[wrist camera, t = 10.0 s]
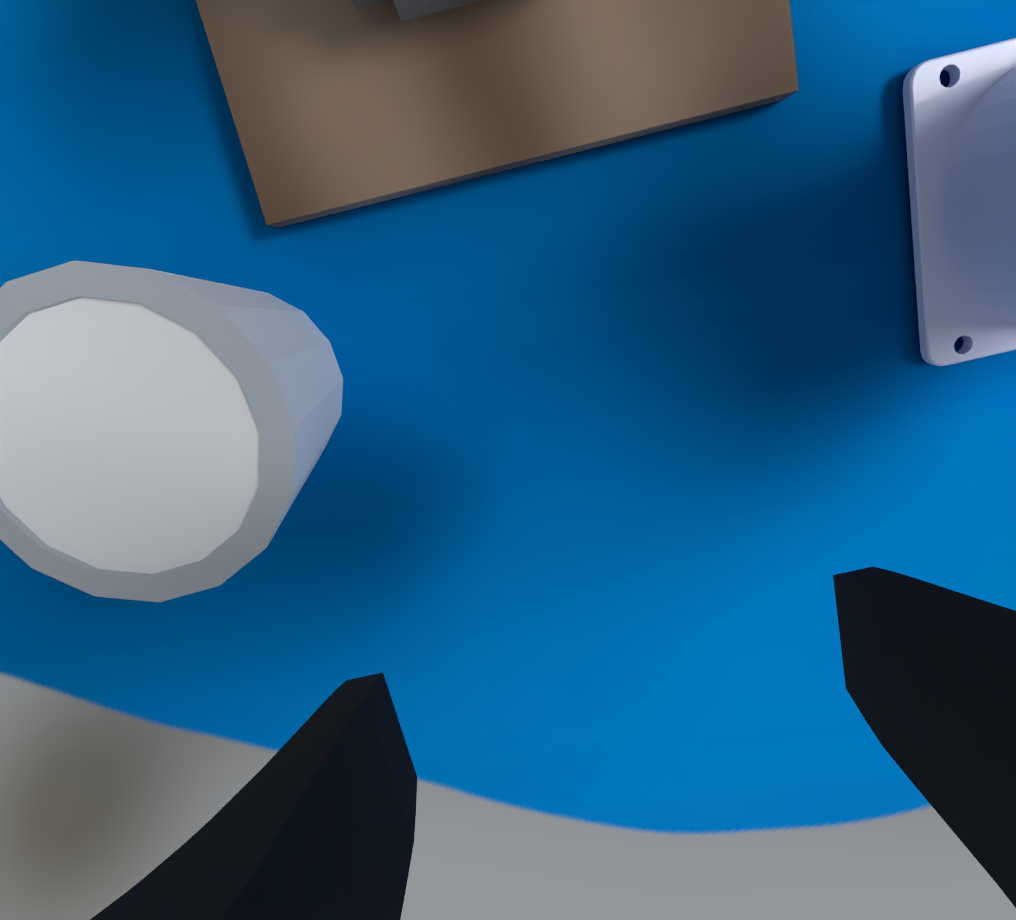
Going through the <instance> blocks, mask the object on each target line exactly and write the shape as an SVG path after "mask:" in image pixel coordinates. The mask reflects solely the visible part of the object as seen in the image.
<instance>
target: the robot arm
mask: <svg viewBox="0 0 1016 920" xmlns="http://www.w3.org/2000/svg"><path fill="white" fill-rule="evenodd" d="M943 69H945V70H946V71H947V72H949V75H950V82H949V85H948V86H947V87H944V86H943V85H942V84H941V83H940V79H939V77H940V72H941V71H942V70H943ZM903 101H904V116H905V131H906V146H907V160H908V175H909V190H910V205H911V219H912V234H913V249H914V264H915V278H916V293H917V308H918V323H919V338H920V352H921V355H922V358H923V359H924V360H925V361H926V362H927V363H929V364H932V365H936V366H947V365H951V364H955V363H960V362H964V361H969V360H973V359H977V358H982V357H986V356H990V355H995V354H999V353H1003V352H1008V351H1012V350H1016V38H1013V39H1010V40H1006V41H1002V42H998V43H994V44H990V45H986V46H982V47H978V48H974V49H970V50H966V51H962V52H958V53H954V54H950V55H946V56H942V57H938V58H935V59H931V60H927V61H925V62H923V63H921V64H919V65H917V66H915V67H913V68H912V69H911V70H910V71H909V72H908V73H907V75H906V77H905V79H904V82H903ZM959 337H962V338H963V346H962V347H961V349H960V350H959V351H957V352H956V351H955V349H954V344H955V341H956V340H957V339H958V338H959ZM833 578H834V587H835V596H836V605H837V614H838V622H839V631H840V640H841V649H842V658H843V667H844V675H845V684H846V689H847V691H848V692H849V694H850V696H851V697H852V699H853V701H854V702H855V704H856V705H857V707H858V709H859V710H860V712H861V713H862V715H863V717H864V718H865V720H866V721H867V723H868V724H869V726H870V728H871V729H872V731H873V732H874V734H875V735H876V737H877V738H878V740H879V741H880V743H881V744H882V746H883V747H884V748H885V749H886V751H887V752H888V753H889V754H890V756H891V757H892V758H893V759H894V761H895V762H896V763H897V764H898V766H899V767H900V768H901V769H902V770H903V772H904V773H905V774H906V775H907V776H908V778H909V779H910V780H911V781H912V783H913V784H914V785H915V786H916V787H917V789H918V790H919V791H920V792H921V793H922V795H923V796H924V797H925V798H926V799H927V801H928V802H929V803H930V804H931V805H932V807H933V808H934V809H935V810H936V811H937V813H938V814H939V815H940V816H941V817H942V819H943V820H944V821H945V822H946V823H947V824H948V826H949V827H950V828H951V829H952V830H953V832H954V833H955V834H956V835H957V836H958V838H959V839H960V840H961V841H962V842H963V844H964V845H965V846H966V847H967V848H968V850H969V851H970V852H971V853H972V854H973V856H974V857H975V858H976V859H977V860H978V862H979V863H980V864H981V865H982V866H983V867H984V869H985V870H986V871H987V872H988V873H989V875H990V876H991V877H992V878H993V880H994V881H995V882H996V883H997V884H998V886H999V887H1000V888H1001V889H1002V891H1003V892H1004V893H1005V895H1006V896H1007V897H1008V898H1009V900H1010V901H1011V902H1012V904H1013V905H1014V906H1015V907H1016V611H1014V610H1011V609H1008V608H1005V607H1002V606H998V605H995V604H992V603H989V602H986V601H983V600H980V599H977V598H974V597H971V596H968V595H965V594H961V593H958V592H955V591H952V590H949V589H946V588H943V587H940V586H937V585H934V584H931V583H928V582H925V581H922V580H919V579H916V578H912V577H909V576H906V575H903V574H899V573H896V572H892V571H889V570H885V569H881V568H876V567H869V568H865V569H860V570H856V571H851V572H846V573H842V574H837V575H833ZM416 792H417V775H416V772H415V769H414V766H413V763H412V760H411V757H410V754H409V751H408V748H407V745H406V742H405V739H404V736H403V733H402V730H401V727H400V723H399V720H398V717H397V714H396V711H395V708H394V705H393V702H392V699H391V696H390V693H389V690H388V687H387V684H386V681H385V678H384V675H383V673H379V674H374V675H369V676H365V677H360V678H356V679H351V680H346V681H345V682H344V683H343V684H342V685H341V686H340V687H339V688H338V689H337V690H336V691H335V692H334V693H333V694H332V695H331V696H330V697H329V698H328V699H327V700H326V701H325V702H324V703H323V704H322V705H321V706H320V707H319V708H318V709H317V711H316V712H315V713H314V714H313V715H312V716H311V717H310V718H309V719H308V720H307V721H306V722H305V724H304V725H303V726H302V727H301V728H300V729H299V730H298V731H297V732H296V733H295V734H294V735H293V736H292V737H291V739H290V740H289V741H288V742H287V743H286V744H285V745H284V746H283V747H282V748H281V749H280V750H279V751H278V752H277V754H276V755H275V756H274V757H273V758H272V759H271V760H270V761H269V762H268V763H267V764H266V765H265V766H264V767H263V768H262V769H261V770H260V771H259V772H258V773H257V774H256V775H255V776H254V777H253V778H252V779H251V780H250V781H249V782H248V783H247V784H246V785H245V786H244V787H243V788H242V789H241V790H240V791H239V792H238V793H237V794H236V795H235V796H234V797H233V798H232V799H231V800H230V801H229V802H228V803H227V804H226V805H225V806H224V807H223V808H222V809H221V810H220V811H219V812H218V813H217V814H216V815H215V816H214V817H213V818H212V819H211V820H210V821H209V822H208V823H206V824H205V825H204V826H203V827H202V828H201V829H200V830H199V831H198V832H197V833H196V834H195V835H193V836H192V837H191V838H190V839H189V840H188V841H187V842H186V843H185V844H183V845H182V846H181V847H180V848H179V849H178V850H177V851H175V852H174V853H173V854H172V855H171V856H170V857H168V858H167V859H166V860H165V861H164V862H162V863H161V864H160V865H159V866H158V867H157V868H155V869H154V870H153V871H152V872H151V873H149V874H148V875H147V876H146V877H145V878H144V879H142V880H141V881H140V882H139V883H138V884H136V885H135V886H134V887H132V888H131V889H130V890H129V891H128V892H126V893H125V894H124V895H122V896H121V897H120V898H118V899H117V900H116V901H114V902H113V903H112V904H110V905H109V906H108V907H106V908H105V909H104V910H102V911H101V912H100V913H98V914H97V915H96V916H94V917H93V918H92V919H91V920H400V917H401V912H402V907H403V901H404V896H405V890H406V884H407V878H408V873H409V867H410V860H411V855H412V848H413V843H414V831H415V815H416Z"/></svg>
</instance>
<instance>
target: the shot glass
mask: <svg viewBox="0 0 1016 920" xmlns="http://www.w3.org/2000/svg"><path fill="white" fill-rule="evenodd" d="M342 391H343V377H342V374H341V371H340V368H339V366H338V363H337V360H336V357H335V355H334V352H333V349H332V346H331V343H330V342H329V340H328V339H327V338H326V337H325V336H324V335H323V333H322V332H321V331H320V330H319V329H318V328H317V327H316V325H315V324H314V323H313V322H312V321H311V320H310V318H309V317H308V316H307V315H306V314H305V313H304V312H303V311H301V310H299V309H297V308H296V307H294V306H292V305H290V304H288V303H286V302H284V301H283V300H281V299H279V298H277V297H275V296H273V295H271V294H270V293H267V292H262V291H257V290H252V289H247V288H242V287H237V286H232V285H227V284H222V283H217V282H212V281H207V280H202V279H197V278H192V277H187V276H182V275H177V274H172V273H167V272H162V271H157V270H152V269H146V268H137V267H128V266H119V265H111V264H102V263H93V262H84V261H75V260H74V261H71V262H68V263H64V264H61V265H58V266H55V267H52V268H49V269H45V270H42V271H39V272H36V273H33V274H30V275H26V276H23V277H20V278H17V279H14V280H11V281H7V282H6V283H5V284H4V285H3V286H2V287H1V288H0V540H1V541H2V542H4V543H5V544H6V545H7V546H8V547H9V548H10V549H11V550H12V551H13V552H14V553H16V554H17V555H18V556H19V557H20V558H21V559H22V560H23V561H24V562H25V563H26V564H28V565H29V566H30V567H31V568H32V569H35V570H37V571H39V572H41V573H43V574H46V575H48V576H50V577H52V578H55V579H57V580H59V581H61V582H64V583H66V584H68V585H70V586H72V587H75V588H77V589H79V590H81V591H84V592H86V593H88V594H90V595H92V596H96V597H107V598H117V599H128V600H139V601H150V602H163V601H167V600H170V599H174V598H177V597H181V596H185V595H188V594H192V593H195V592H199V591H203V590H206V589H210V588H213V587H217V586H220V585H221V584H222V583H224V582H225V581H226V580H227V579H229V578H230V577H231V576H232V575H234V574H235V573H236V572H237V571H239V570H240V569H241V568H242V567H243V566H245V565H246V564H247V563H248V562H250V561H251V560H252V559H253V558H255V557H256V556H257V555H258V554H260V553H261V552H262V551H263V550H265V549H266V548H267V546H268V544H269V543H270V541H271V539H272V538H273V536H274V534H275V532H276V531H277V529H278V527H279V526H280V524H281V522H282V520H283V519H284V517H285V515H286V514H287V512H288V510H289V509H290V507H291V505H292V503H293V502H294V500H295V498H296V497H297V495H298V493H299V491H300V490H301V488H302V486H303V485H304V483H305V481H306V479H307V478H308V476H309V474H310V473H311V471H312V469H313V468H314V466H315V464H316V462H317V461H318V459H319V457H320V456H321V454H322V452H323V450H324V449H325V447H326V445H327V443H328V441H329V439H330V437H331V435H332V433H333V431H334V429H335V427H336V425H337V423H338V421H339V419H340V417H341V413H342Z"/></svg>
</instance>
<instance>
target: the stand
mask: <svg viewBox="0 0 1016 920" xmlns="http://www.w3.org/2000/svg"><path fill="white" fill-rule="evenodd" d="M196 3H197V6H198V9H199V12H200V15H201V19H202V22H203V25H204V28H205V31H206V34H207V38H208V41H209V44H210V47H211V50H212V53H213V57H214V60H215V63H216V66H217V69H218V72H219V76H220V79H221V82H222V85H223V88H224V91H225V95H226V98H227V101H228V104H229V107H230V110H231V114H232V117H233V120H234V123H235V126H236V129H237V133H238V136H239V139H240V142H241V145H242V148H243V152H244V155H245V158H246V161H247V164H248V167H249V171H250V174H251V177H252V180H253V183H254V186H255V190H256V193H257V196H258V199H259V202H260V205H261V209H262V212H263V215H264V218H265V221H266V224H267V225H269V226H273V227H278V228H280V227H284V226H287V225H291V224H295V223H299V222H303V221H307V220H311V219H315V218H319V217H323V216H327V215H331V214H335V213H339V212H343V211H347V210H351V209H355V208H359V207H363V206H367V205H370V204H374V203H378V202H382V201H386V200H390V199H394V198H398V197H402V196H406V195H410V194H414V193H418V192H422V191H426V190H430V189H434V188H438V187H442V186H446V185H449V184H453V183H457V182H461V181H465V180H469V179H473V178H477V177H481V176H485V175H489V174H493V173H497V172H501V171H505V170H509V169H513V168H517V167H521V166H525V165H529V164H532V163H536V162H540V161H544V160H548V159H552V158H556V157H560V156H564V155H568V154H572V153H576V152H580V151H584V150H588V149H592V148H596V147H600V146H604V145H608V144H611V143H615V142H619V141H623V140H627V139H631V138H635V137H639V136H643V135H647V134H651V133H655V132H659V131H663V130H667V129H671V128H675V127H679V126H683V125H687V124H690V123H694V122H698V121H702V120H706V119H710V118H714V117H718V116H722V115H726V114H730V113H734V112H738V111H742V110H746V109H750V108H754V107H758V106H762V105H766V104H770V103H773V102H777V101H781V100H784V99H785V98H787V97H789V96H790V95H792V94H793V93H795V92H797V91H798V90H799V87H798V77H797V68H796V58H795V49H794V39H793V30H792V20H791V11H790V2H789V0H196Z"/></svg>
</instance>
